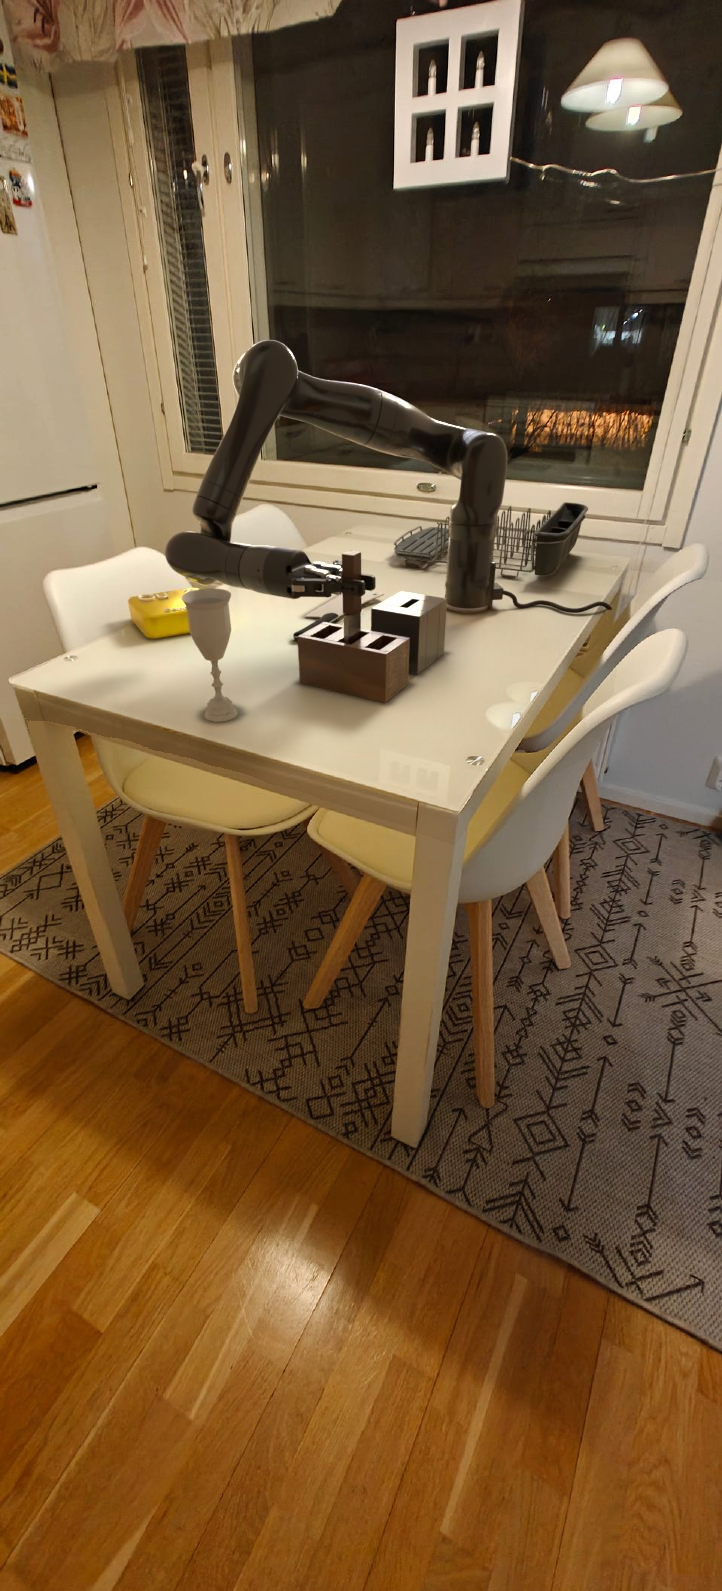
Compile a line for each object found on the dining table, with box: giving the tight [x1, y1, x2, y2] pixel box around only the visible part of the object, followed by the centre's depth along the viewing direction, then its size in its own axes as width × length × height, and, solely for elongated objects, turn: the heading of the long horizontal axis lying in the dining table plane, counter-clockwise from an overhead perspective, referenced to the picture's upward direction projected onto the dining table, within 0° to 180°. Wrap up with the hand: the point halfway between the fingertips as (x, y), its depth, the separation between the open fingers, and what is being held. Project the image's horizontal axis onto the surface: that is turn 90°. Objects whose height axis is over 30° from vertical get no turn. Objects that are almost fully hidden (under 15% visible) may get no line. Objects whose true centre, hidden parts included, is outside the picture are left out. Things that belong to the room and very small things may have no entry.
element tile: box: [127, 587, 199, 640], centre depth 143 cm, size 15×15×5 cm
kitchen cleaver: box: [292, 591, 385, 642], centre depth 147 cm, size 31×2×10 cm
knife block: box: [370, 590, 448, 675], centre depth 124 cm, size 11×9×10 cm
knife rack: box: [296, 622, 410, 703], centre depth 116 cm, size 8×16×8 cm, turn 61°
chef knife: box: [341, 550, 362, 645], centre depth 112 cm, size 4×2×21 cm, turn 150°
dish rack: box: [393, 501, 589, 579], centre depth 181 cm, size 34×44×12 cm
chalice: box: [181, 587, 239, 723], centre depth 104 cm, size 7×7×18 cm
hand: (368, 585), depth 108 cm, fingers closed
